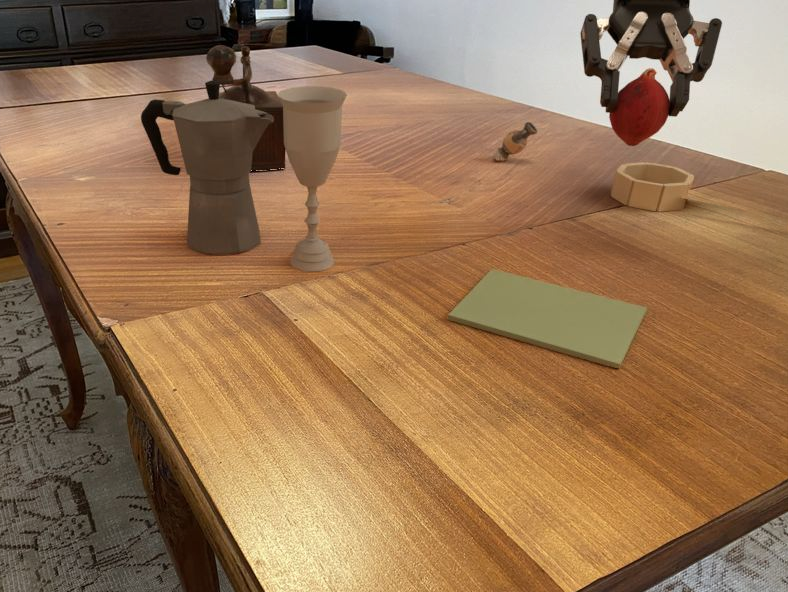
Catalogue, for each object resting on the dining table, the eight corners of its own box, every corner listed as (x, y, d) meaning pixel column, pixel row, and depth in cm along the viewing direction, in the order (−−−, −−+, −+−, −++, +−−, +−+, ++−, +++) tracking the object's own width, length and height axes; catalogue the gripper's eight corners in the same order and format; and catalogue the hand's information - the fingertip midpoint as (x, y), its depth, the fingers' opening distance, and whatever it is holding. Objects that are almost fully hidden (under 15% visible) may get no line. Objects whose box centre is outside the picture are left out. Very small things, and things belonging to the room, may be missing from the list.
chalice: (284, 247, 82) (281, 85, 72) (343, 248, 82) (347, 86, 72) (278, 275, 76) (274, 102, 66) (342, 276, 76) (346, 104, 66)
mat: (646, 312, 70) (647, 307, 69) (618, 369, 61) (620, 364, 61) (491, 273, 77) (492, 268, 76) (447, 319, 68) (447, 314, 68)
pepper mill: (209, 153, 112) (199, 30, 103) (278, 149, 114) (275, 29, 104) (215, 185, 99) (205, 48, 90) (292, 181, 101) (291, 46, 92)
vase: (537, 159, 111) (543, 120, 108) (524, 168, 107) (531, 128, 104) (504, 153, 113) (509, 115, 110) (491, 162, 110) (496, 123, 106)
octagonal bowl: (690, 195, 98) (697, 170, 96) (679, 216, 91) (687, 190, 89) (620, 182, 102) (626, 158, 100) (605, 202, 95) (611, 176, 93)
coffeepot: (289, 231, 86) (286, 75, 76) (263, 263, 78) (256, 95, 69) (173, 217, 89) (156, 67, 80) (137, 247, 82) (114, 84, 72)
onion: (638, 157, 74) (657, 77, 69) (591, 144, 77) (607, 67, 73) (670, 147, 76) (691, 69, 72) (623, 135, 80) (640, 60, 76)
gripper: (591, -57, 74) (578, 86, 71) (739, -55, 72) (733, 93, 68) (577, -7, 81) (564, 125, 78) (710, -3, 79) (704, 133, 75)
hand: (643, 110), depth 73 cm, fingers closed on onion, 5 cm apart
